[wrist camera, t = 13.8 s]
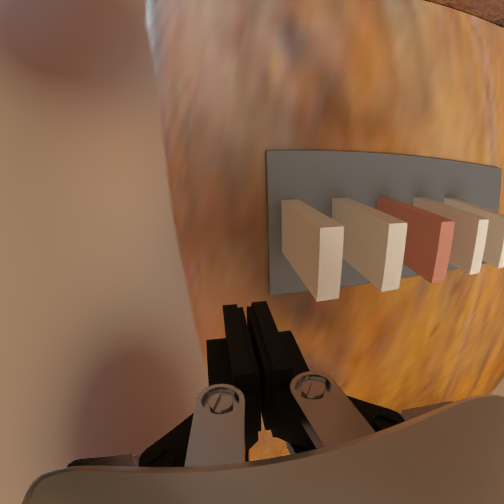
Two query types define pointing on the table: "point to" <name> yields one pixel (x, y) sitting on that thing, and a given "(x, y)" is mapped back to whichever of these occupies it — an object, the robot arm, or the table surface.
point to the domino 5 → (498, 234)
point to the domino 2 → (372, 242)
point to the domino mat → (363, 194)
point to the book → (478, 8)
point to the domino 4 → (461, 234)
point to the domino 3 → (423, 238)
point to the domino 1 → (313, 248)
